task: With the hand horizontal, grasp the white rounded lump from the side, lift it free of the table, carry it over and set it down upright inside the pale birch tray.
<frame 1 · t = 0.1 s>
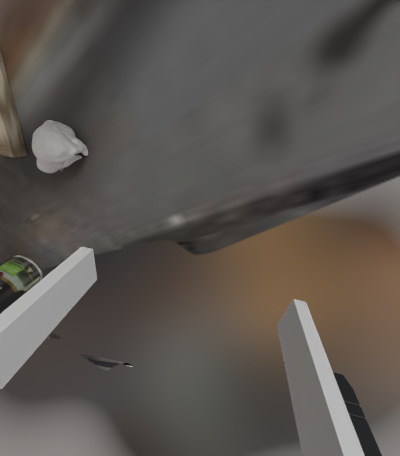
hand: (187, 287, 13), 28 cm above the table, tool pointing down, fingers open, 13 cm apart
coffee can: (27, 267, 60), on the table
white rounded lump: (70, 150, 39), on the table
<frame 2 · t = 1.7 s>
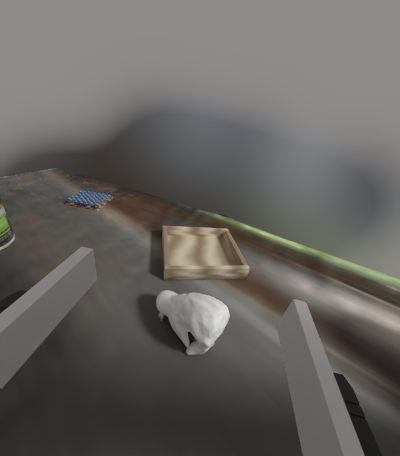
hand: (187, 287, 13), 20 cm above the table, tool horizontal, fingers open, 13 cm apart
birch tray: (200, 254, 47), on the table
woven mat: (91, 203, 62), on the table
white rounded lump: (184, 327, 31), on the table
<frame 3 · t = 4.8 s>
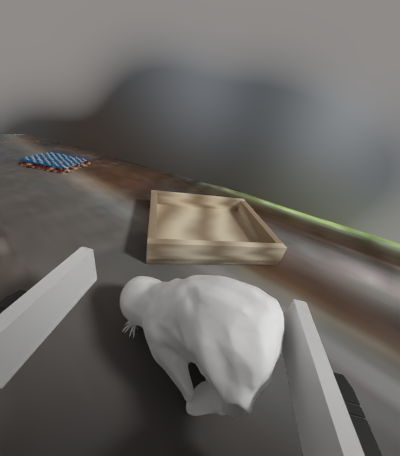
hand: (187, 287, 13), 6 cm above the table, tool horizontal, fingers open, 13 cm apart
birch tray: (205, 230, 32), on the table
woven mat: (58, 167, 46), on the table
white rounded lump: (178, 348, 16), on the table
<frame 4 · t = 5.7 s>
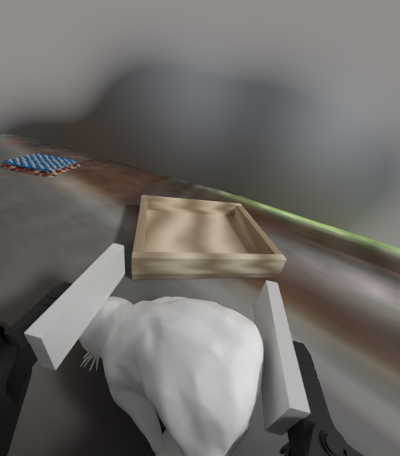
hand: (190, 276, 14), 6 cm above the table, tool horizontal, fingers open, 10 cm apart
birch tray: (199, 239, 30), on the table
woven mat: (45, 170, 44), on the table
white rounded lump: (150, 376, 14), on the table, touching gripper
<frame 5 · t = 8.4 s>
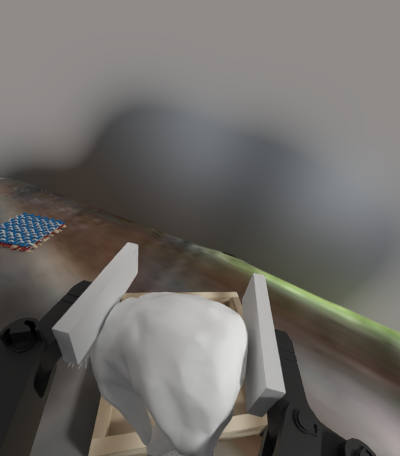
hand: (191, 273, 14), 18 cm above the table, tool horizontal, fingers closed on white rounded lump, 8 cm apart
birch tray: (185, 357, 25), on the table
woven mat: (27, 236, 41), on the table
white rounded lump: (141, 372, 14), point 11 cm above the table, touching gripper
when the fingers open (9 cm above the table, at t = 11.1 s): white rounded lump drops 1 cm, resting on birch tray.
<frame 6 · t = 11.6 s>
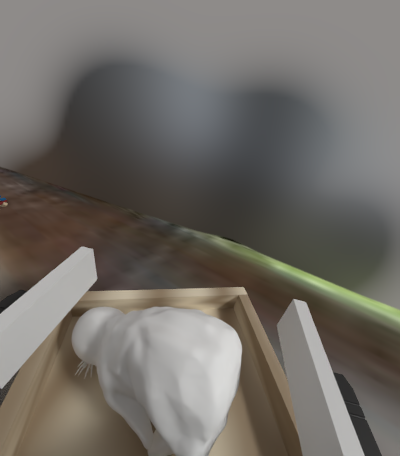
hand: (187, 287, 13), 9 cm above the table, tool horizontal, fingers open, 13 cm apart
birch tray: (161, 402, 14), on the table
white rounded lump: (142, 379, 15), point 1 cm above the table, touching birch tray
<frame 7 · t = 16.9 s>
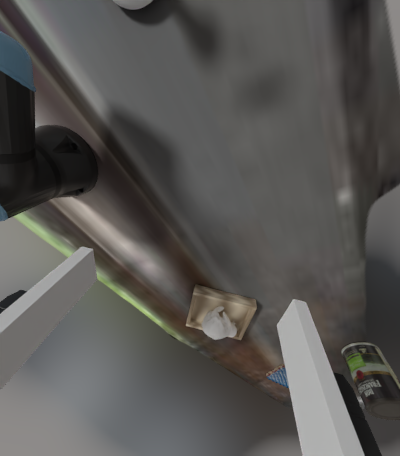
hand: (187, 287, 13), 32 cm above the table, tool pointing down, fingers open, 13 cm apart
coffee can: (359, 351, 60), on the table
birch tray: (219, 309, 60), on the table
woven mat: (284, 372, 72), on the table
white rounded lump: (222, 314, 60), point 1 cm above the table, touching birch tray
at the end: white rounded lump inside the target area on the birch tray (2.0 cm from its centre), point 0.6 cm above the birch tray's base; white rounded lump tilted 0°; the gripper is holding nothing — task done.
